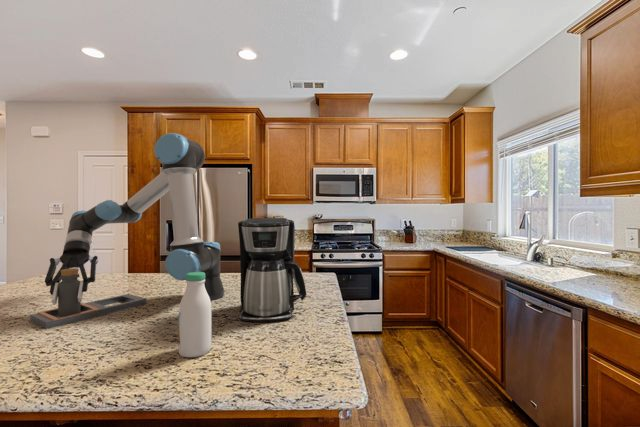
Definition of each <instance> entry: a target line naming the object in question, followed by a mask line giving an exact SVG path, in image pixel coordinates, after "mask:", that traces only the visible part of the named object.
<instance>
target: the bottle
mask: <svg viewBox="0 0 640 427" xmlns="http://www.w3.org/2000/svg"><path fill="white" fill-rule="evenodd" d="M79 270H80V268H75V267H74V268H70V269H63V270H61V274H62V275H61V276H60V279H62V280H61V281H60V283H59V284H58V298H57V308H58V316H57V317H63V316H67V315H71V314H76V313H80V312H82V311H81V303H82V302H78V292H79V286H80V281H81V280H80V279H78V278H79V277H80V273H79Z"/></svg>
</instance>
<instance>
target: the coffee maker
mask: <svg viewBox="0 0 640 427" xmlns="http://www.w3.org/2000/svg"><path fill="white" fill-rule="evenodd" d="M237 224H238V225H237V227H238V228H237V229H238V238H239V255H240V256H239V259H240V262H239V263H240V295H239V296H240V311H239V312H240V314H239V315H238V318H239V319H240V320H241V321H242V322H252V323H253V322H256V323H257V322H259V323H261V322H262V323H264V322H277V321H283V320H288V319H291V317H292V316H293V311H295V302H296V301H297V300H299V299H300V300H301V301H303V300H304V299H305V298H306V297H307V287H306V282H305V278H304V274H303V271H302V268H301V267H300V264H299V263H297V262H295V254H296V253H295V243H296V241H295V240H296V238H295V236H296V226H295V221H294V220H292V219H288V218H286V217H255V218H253V217H252V218H247V219H245V220H240V221H239V222H238V223H237ZM294 284H295V286H296V289H297V291H298V294H294Z"/></svg>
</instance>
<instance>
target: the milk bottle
mask: <svg viewBox="0 0 640 427" xmlns="http://www.w3.org/2000/svg"><path fill="white" fill-rule="evenodd" d="M204 282H205V273H204V272H191V273H187V274H186V280H185V283H186V286H185V287H186V288H185V291H184V294H183V295H182V297H181V300H180V303H179V308H178V353H179V356H181V357H184V358H196V357H201V356H204V355H206V354H207V353H209V352H210V351H211V348H212V302H211V301H212V300H210V298H209V295H208V293H207V291H206V289H205V285H204Z"/></svg>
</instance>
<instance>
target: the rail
mask: <svg viewBox="0 0 640 427" xmlns="http://www.w3.org/2000/svg"><path fill="white" fill-rule="evenodd" d="M120 302H122V303H120ZM116 303H117V304H116ZM111 304H112V305H111ZM146 304H147V298H145V297H141V296H137V295H135V294H130V293H126V294H122V295H116V296H113V297H107V298H103V299H97V300H94V301H88V302H81V311H80V313H76V314H71V315H67V316H63V317H59V316H58V307H55V308H51V309H47V310H43V311H37V313H32V314H30V316H29V317H30V318H29V321H30V322H32V323H33V324H35V325H37V326H39V327H41V328H43V329H45V330H48V329H51V328H56V327H59V326H64V325H67V324H71V323H76V322H80V321H83V320H88V319H90V318H95V317H100V316H104V315H107V314H111V313H115V312H119V311H123V310H127V309H130V308H131V309H132V308H135V307H139V306H143V305H146ZM107 305H108V306H107Z"/></svg>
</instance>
